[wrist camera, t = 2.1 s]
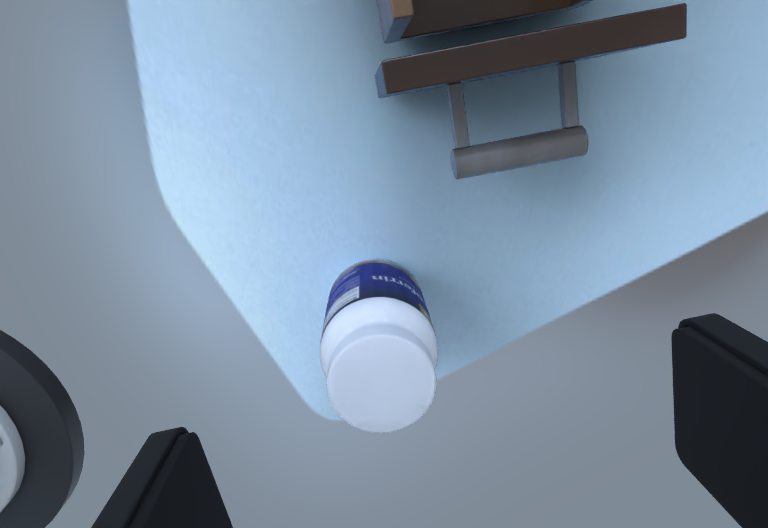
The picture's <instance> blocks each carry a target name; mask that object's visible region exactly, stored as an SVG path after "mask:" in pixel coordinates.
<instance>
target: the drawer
mask: <svg viewBox="0 0 768 528" xmlns="http://www.w3.org/2000/svg"><path fill="white" fill-rule="evenodd" d="M591 1H593V0H377V6H378V12H379V18H380V24H381V30H382V36H383V42H384V43H385V44H387V43H392V42H397V41H402V40H408V39H413V38H418V37H423V36H429V35H434V34H439V33H444V32H450V31H455V30H460V29H465V28H471V27H476V26H481V25H486V24H492V23H497V22H502V21H507V20H513V19H518V18H523V17H529V16H534V15H539V14H544V13H550V12H555V11H560V10H565V9H571V8H576V7H580V6H582V5H584V4H586V3H589V2H591ZM686 15H687V5H686V4H685V3H683V4H678V5H672V6H667V7H662V8H656V9H651V10H646V11H641V12H635V13H630V14H625V15H620V16H614V17H609V18H604V19H599V20H593V21H588V22H583V23H578V24H572V25H567V26H562V27H556V28H551V29H546V30H541V31H535V32H530V33H525V34H520V35H514V36H509V37H504V38H499V39H493V40H488V41H483V42H478V43H472V44H467V45H462V46H456V47H451V48H446V49H441V50H435V51H430V52H425V53H420V54H414V55H409V56H404V57H399V58H393V59H388V60H383V61H381V63H380V65H379V68H378V70H377V72H376V74H375V79H376V85H377V91H378V97H379V98H384V97H389V96H395V95H400V94H405V93H410V92H416V91H421V90H426V89H431V88H437V87H442V86H447V92H448V100H449V107H450V115H451V123H452V130H453V138H454V145H455V149H452V150H451V165H452V171H453V174H454V177H455V179H463V178H468V177H473V176H479V175H484V174H489V173H495V172H500V171H505V170H511V169H516V168H521V167H527V166H532V165H537V164H543V163H548V162H553V161H559V160H564V159H569V158H575V157H580V156H584V155H585V154H586V153H587V150H588V137H587V133H586V130H585V128H584V127H583V126H581V125H579V119H578V102H577V85H576V67H575V61H579V60H585V59H590V58H595V57H600V56H604V55H609V54H614V53H618V52H623V51H628V50H632V49H637V48H641V47H646V46H651V45H655V44H660V43H665V42H669V41H674V40H679V39H683V38H685V37H686ZM553 65H558V78H559V93H560V107H561V122H562V127H563V128H562V129H556V130H551V131H546V132H540V133H535V134H530V135H525V136H519V137H514V138H509V139H503V140H498V141H493V142H487V143H482V144H477V145H471V146H469V145H470V144H469V136H468V128H467V120H466V112H465V104H464V96H463V87H462V83H463V82H468V81H474V80H479V79H484V78H490V77H495V76H500V75H505V74H511V73H516V72H521V71H527V70H532V69H537V68H542V67H548V66H553Z"/></svg>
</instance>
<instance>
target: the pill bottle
mask: <svg viewBox="0 0 768 528" xmlns="http://www.w3.org/2000/svg"><path fill="white" fill-rule="evenodd" d="M320 360H321V365H322V368H323V371H324V374H325V376H326V378H327V391H328V396H329V399H330V402H331V404H332V406H333V408H334V409H335V411H336V412H337V413H338V415H339V416H340V417H341V418H342V419H343V420H345V421H346V422H347V423H349V424H350V425H352V426H354V427H356V428H358V429H361V430H364V431H368V432H374V433H388V432H394V431H397V430H401V429H403V428H406V427H408V426H410V425H412V424H413V423H414V422H416V421H417V420H418V419H420V418H421V417H422V416H423V415H424V414H425V412H426V411H427V410H428V408H429V407H430V405H431V403H432V401H433V399H434V396H435V392H436V382H437V380H436V373H435V368H436V365H437V360H438V343H437V338H436V334H435V331H434V328H433V325H432V322H431V319H430V316H429V312H428V310H427V307H426V304H425V301H424V298H423V295H422V292H421V290H420V287H419V285H418V283H417V281H416V280H415V278H414V277H413V276H412V274H411V273H410V272H409V271H407V270H406V269H405V268H404V267H402V266H400V265H398V264H396V263H394V262H391V261H388V260H383V259H369V260H364V261H361V262H358V263H356V264H354V265H352V266H350V267H349V268H347V269H346V270H344V271H343V272H342V273H341V274H340V275H339V277H338V278H337V279H336V281H335V282H334V284H333V286H332V289H331V291H330V294H329V298H328V303H327V309H326V315H325V320H324V326H323V332H322V337H321V343H320Z"/></svg>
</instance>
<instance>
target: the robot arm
mask: <svg viewBox="0 0 768 528" xmlns="http://www.w3.org/2000/svg"><path fill="white" fill-rule="evenodd" d="M672 363H673V364H672V365H673V395H674V421H675V422H674V424H675V446H676V450H677V453H678V456H679V458H680V460H681V461H682V463H683V464H684V465H685V467H686V468H687V469H688V470H689V471H690V472H691V473H692V474H693V475H694V476H695V477H696V479H697V480H698V481H699V482H700V483H701V484H702V485H703V486H704V487H705V488H706V489H707V490H708V491H709V493H710V494H711V495H712V496H713V497H714V498H715V499H716V500H717V501H718V502H719V503H720V504H721V505H722V507H723V508H724V509H725V510H726V511H727V512H728V513H729V514H730V515H731V516H732V517H733V518H734V519H735V520H736V522H737V523H738V524H739V525H740V526H741V527H742V528H768V342H767V341H765V340H763V339H761V338H759V337H758V336H756V335H754V334H752V333H751V332H749V331H747V330H745V329H743V328H741V327H740V326H738V325H736V324H735V323H732V322H731V321H729V320H727V319H725V318H724V317H722V316H720V315H718V314H707V315H703V316H698V317H693V318H688V319H684V320H682V321H681V322H680V324H679V326H678V329H675V330H674V331H673V333H672ZM24 471H25V454H24V448H23V443H22V440H21V438H20V435H19V433H18V431H17V428H16V426H15V424H14V423H13V421H12V420H11V418H10V417H9V415H8V414H7V412H6V411H5V410H4V409H3V408H2V407H1V406H0V512H1V511H2V510H3V509H4V508H5V507H6V506H7V504H8V503H9V502H10V501H11V500H12V499H13V497H14V496H15V494H16V492H17V491H18V489H19V488H20V485H21V482H22V479H23V476H24ZM92 528H233V527H232V524H231V521H230V519H229V516H228V514H227V511H226V508H225V506H224V503H223V500H222V498H221V495H220V492H219V490H218V487H217V485H216V482H215V479H214V477H213V474H212V471H211V469H210V466H209V464H208V461H207V458H206V456H205V453H204V450H203V448H202V445H201V442H200V440H199V438H198V436H197V434H195V433H194V432H192V433H189V432H188V431H187V430H186V429H185V428H184V427H179V428H174V429H170V430H165V431H161V432H156V433H153V434H151V435H150V436H149V437H148V439H147V440H146V442H145V444H144V445H143V447H142V448H141V450H140V452H139V453H138V455H137V456H136V458H135V459H134V461H133V463H132V464H131V466H130V467H129V469H128V470H127V472H126V474H125V475H124V477H123V478H122V480H121V482H120V483H119V485H118V486H117V488H116V490H115V491H114V493H113V494H112V496H111V497H110V499H109V501H108V502H107V504H106V505H105V507H104V509H103V510H102V512H101V513H100V515H99V516H98V518H97V520H96V521H95V523H94V524H93V526H92Z"/></svg>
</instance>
